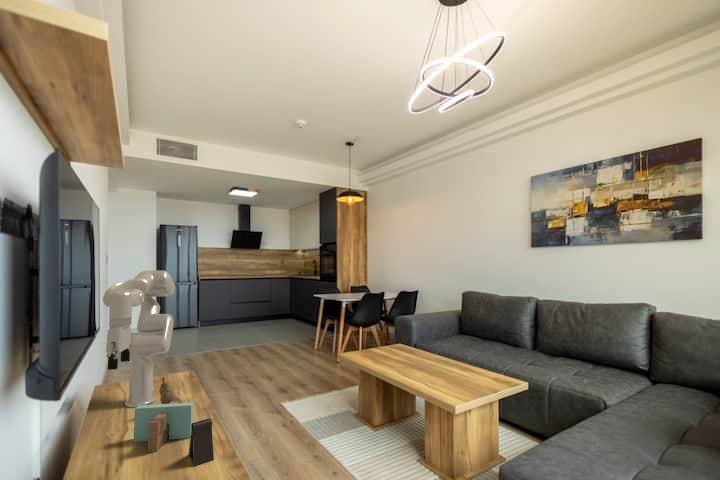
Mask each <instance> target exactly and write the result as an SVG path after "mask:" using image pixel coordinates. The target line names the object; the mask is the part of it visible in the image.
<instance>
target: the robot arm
mask: <svg viewBox="0 0 720 480" xmlns="http://www.w3.org/2000/svg"><path fill="white" fill-rule="evenodd" d="M175 290H176V286H175V282H174V280H173V278H172V275H171V274H170V273H169V271H166V270H164V269H163V270H142V271H140V272H139V273H138V274H137V275H136V276H135V277H133V279H132V278H131V279H129V280H126V281H122V282H119V283H118V282H117V283H115V284H112V285H111V286H110V287H108V289H107V290H105V292H104V294H103V296H102V301H103V302H102V303H103V304H104V306H105V307H106V308H108V309H109V311H108V331H107V335H106V336H107V337H106V344H105V345H106V346H105V352H106V357H107V370H108V371H109V370H117V369H118V365H119V364H118V363H119V359H118V355H119V353H120V362H123V363H124V362H125V363H126V362H129V385H128V386H129V388H128V399H126V400H125V401H124V406H125V407H127V408H136V407H137V406H139V405H151V404H152V403H153V402H156V399H157V396H156V395H153V392H154V391H155V387H154V386H153V385H154V384H153V381H154V362H153V360H152V358H151V357H150V356H153V355H164V354H166V353H168V352H169V351H170V348H171V345H172V337H173V330H174V317H173V315H172V314H169V313H160V311H161V306H160V304H159V302H158V301H157V300H156V299H154V297H157V298H158V297H169V296H170V297H171V296H173V294H174V293H175ZM139 306H140V311H139V315H138V319H137V320H138V321H137V325H136V331H137V332H138V333H139V334H140V335H136V336H134V337H132V331H131V326H132V322H133V321H132V318H133V317H132V316H133V307H134V308H135V307H139Z"/></svg>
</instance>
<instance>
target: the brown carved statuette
mask: <svg viewBox="0 0 720 480" xmlns="http://www.w3.org/2000/svg"><path fill="white" fill-rule="evenodd" d="M161 381H162V383H161V385H160V386H159V387H160V388H159V394H160V398H159V399H160V404H169V403H170V402H171V401H175V400H180V403H184V401H182V400H181V399H180V397H178V395H176V394H175V392H174V391H173V389H172V388H171V386H170V384H168V383H167V382H166V379H165V377H164V376H163V377H162V379H161Z"/></svg>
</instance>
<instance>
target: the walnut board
mask: <svg viewBox="0 0 720 480" xmlns="http://www.w3.org/2000/svg"><path fill="white" fill-rule="evenodd" d="M180 400H181V399H180ZM180 400H175V401H171V402H170V403H169V404H173V403H180ZM169 432H170V424H167V413H162V414H158V415H157V416H156V417H155V418H154V419H152V420H151V421H150V422H149V437H148V441H147V447H148V448H147V453H157V452H159V450H160V449H161V448H162V446H163V445H164V444H165V443H166V442H167V440H168V439H169ZM165 441H166V442H165Z"/></svg>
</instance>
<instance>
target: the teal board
mask: <svg viewBox="0 0 720 480" xmlns="http://www.w3.org/2000/svg"><path fill="white" fill-rule="evenodd" d="M194 409H195V402H194V401H193V402H183V403H173V404H162V403H159V404H157V403H156V404H147V405H139V406H137V407H134V418H133V419H134V421H133V443H138V442H148V437H149V422H150V421H151V420H152V419H154V418H155V417H156V416H157V415H158V414H162V413H167V424H170V432H169V438H168V439H169V440H182V439H190V437H191V425H192V423H194V416H195V414H194Z"/></svg>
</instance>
